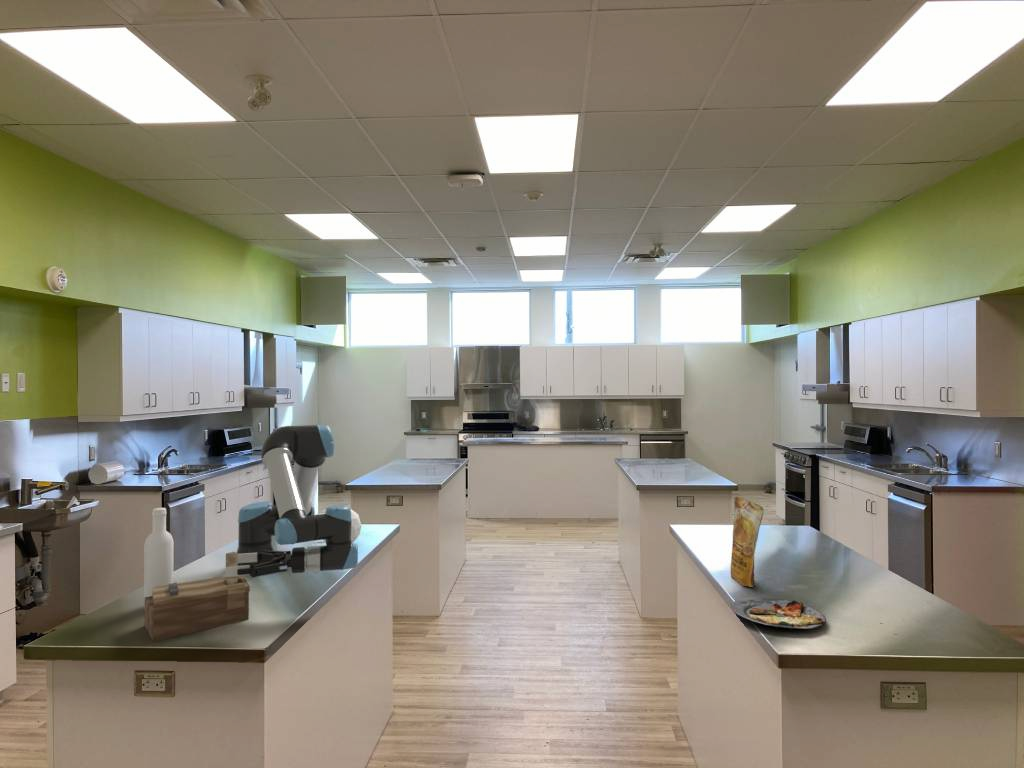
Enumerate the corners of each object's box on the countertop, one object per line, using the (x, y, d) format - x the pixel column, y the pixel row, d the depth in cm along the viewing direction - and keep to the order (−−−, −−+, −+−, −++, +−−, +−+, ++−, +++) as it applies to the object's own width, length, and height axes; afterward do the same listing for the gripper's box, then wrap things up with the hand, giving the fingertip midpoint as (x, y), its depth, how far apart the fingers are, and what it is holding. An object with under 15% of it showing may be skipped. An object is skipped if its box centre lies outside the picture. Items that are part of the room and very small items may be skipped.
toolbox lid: (152, 592, 171) (152, 583, 171) (242, 578, 184) (242, 569, 184) (153, 607, 159) (153, 597, 159) (249, 591, 172) (249, 581, 172)
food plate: (813, 608, 181) (813, 596, 181) (837, 639, 158) (837, 626, 158) (727, 601, 186) (727, 590, 186) (738, 631, 164) (738, 618, 164)
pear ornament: (358, 501, 246) (370, 517, 271) (304, 503, 245) (321, 519, 270) (355, 541, 239) (368, 554, 264) (299, 543, 238) (317, 556, 263)
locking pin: (224, 600, 176) (224, 553, 176) (235, 598, 178) (235, 551, 178) (227, 603, 173) (227, 555, 173) (239, 600, 175) (239, 553, 176)
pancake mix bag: (743, 572, 215) (742, 495, 216) (766, 590, 196) (765, 505, 197) (724, 572, 215) (724, 495, 216) (745, 590, 196) (745, 505, 197)
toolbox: (144, 625, 167) (144, 597, 167) (234, 605, 182) (235, 579, 183) (153, 641, 156) (153, 611, 156) (248, 619, 172) (248, 591, 172)
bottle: (174, 607, 181) (175, 509, 182) (144, 612, 177) (145, 512, 177) (171, 599, 188) (172, 505, 188) (142, 605, 183) (143, 508, 184)
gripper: (302, 584, 168) (221, 591, 163) (308, 560, 192) (237, 565, 187) (302, 558, 168) (221, 564, 163) (308, 537, 192) (237, 542, 187)
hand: (229, 565), depth 175 cm, fingers open, 13 cm apart
